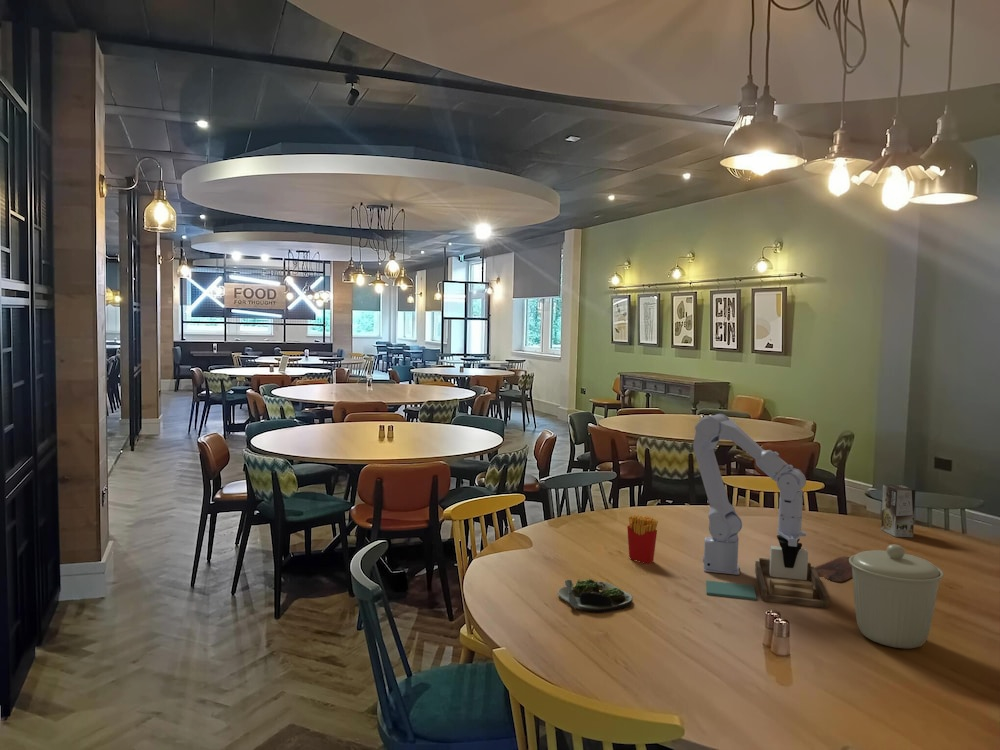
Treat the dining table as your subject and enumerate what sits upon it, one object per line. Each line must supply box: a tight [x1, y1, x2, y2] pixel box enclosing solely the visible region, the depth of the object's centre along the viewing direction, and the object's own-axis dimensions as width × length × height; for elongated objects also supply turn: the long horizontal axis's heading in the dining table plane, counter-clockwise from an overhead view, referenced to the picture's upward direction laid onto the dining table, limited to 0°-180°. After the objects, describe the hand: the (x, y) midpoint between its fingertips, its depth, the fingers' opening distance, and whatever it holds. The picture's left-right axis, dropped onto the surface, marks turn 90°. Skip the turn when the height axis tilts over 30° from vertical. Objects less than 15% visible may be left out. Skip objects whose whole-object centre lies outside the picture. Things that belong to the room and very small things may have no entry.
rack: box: [754, 557, 830, 609], centre depth 183 cm, size 15×23×4 cm
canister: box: [849, 543, 945, 650], centre depth 153 cm, size 18×18×21 cm
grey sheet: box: [769, 545, 809, 581], centre depth 186 cm, size 9×3×8 cm, turn 74°
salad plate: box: [557, 578, 633, 614], centre depth 175 cm, size 19×18×5 cm
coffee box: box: [880, 483, 917, 538], centre depth 236 cm, size 9×6×16 cm
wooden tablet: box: [814, 556, 853, 584], centre depth 200 cm, size 26×2×10 cm
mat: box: [705, 580, 757, 601], centre depth 181 cm, size 12×9×1 cm
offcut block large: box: [769, 578, 814, 595], centre depth 179 cm, size 10×2×4 cm, turn 80°
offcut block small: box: [774, 584, 814, 599], centre depth 176 cm, size 9×2×3 cm, turn 67°
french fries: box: [626, 514, 659, 564], centre depth 204 cm, size 9×4×13 cm, turn 50°
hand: (788, 565), depth 186 cm, fingers closed on grey sheet, 3 cm apart
